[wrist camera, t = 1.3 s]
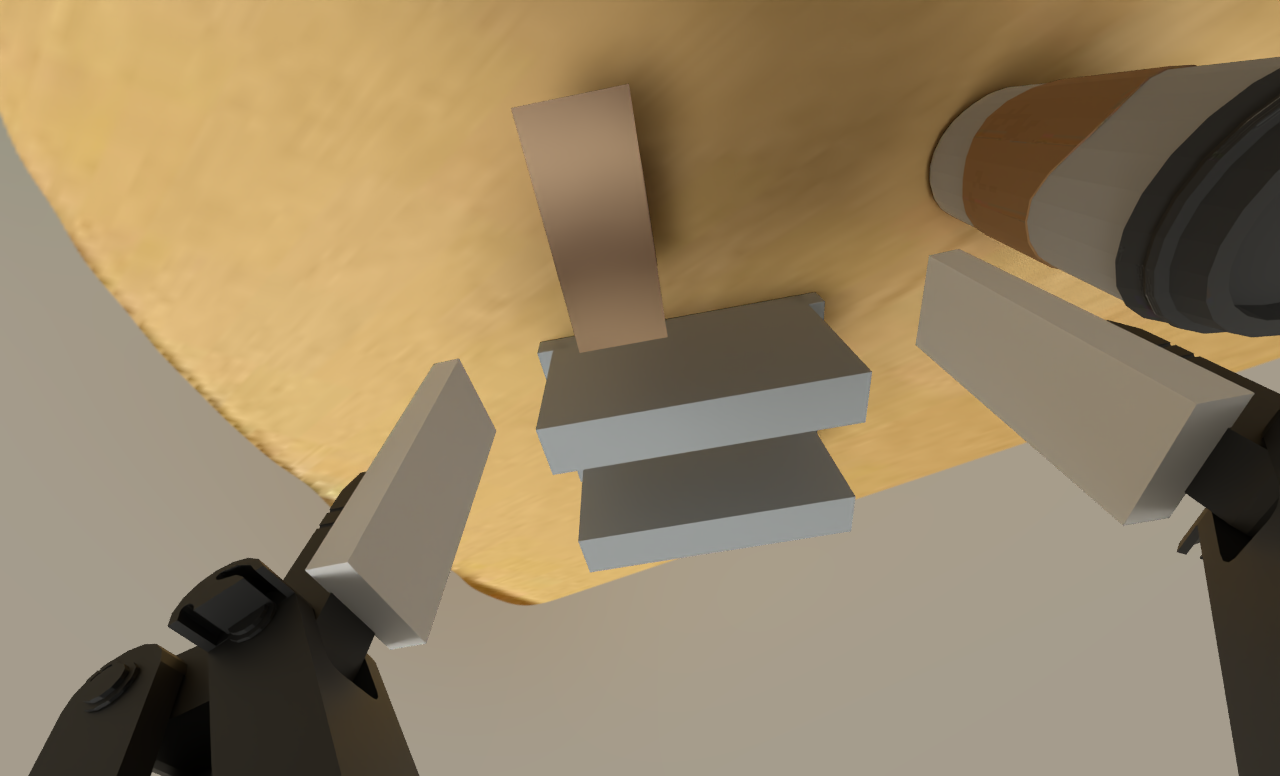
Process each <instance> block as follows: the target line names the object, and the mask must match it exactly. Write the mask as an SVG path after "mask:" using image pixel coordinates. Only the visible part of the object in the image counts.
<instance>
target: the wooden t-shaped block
mask: <svg viewBox="0 0 1280 776" xmlns="http://www.w3.org/2000/svg"><path fill="white" fill-rule="evenodd" d="M511 110H512V113H513V117H514V121H515V124H516V128H517V131H518V135H519V138H520V142H521V146H522V149H523V153H524V156H525V160H526V163H527V167H528V170H529V174H530V178H531V181H532V185H533V188H534V192H535V195H536V199H537V203H538V206H539V210H540V213H541V217H542V220H543V224H544V228H545V231H546V235H547V238H548V242H549V245H550V249H551V253H552V256H553V260H554V263H555V267H556V270H557V274H558V278H559V281H560V285H561V288H562V292H563V295H564V299H565V303H566V306H567V310H568V313H569V317H570V320H571V324H572V328H573V331H574V335H575V338H576V342H577V345H578V349H579V353H582V352H588V351H593V350H599V349H604V348H610V347H616V346H621V345H627V344H632V343H638V342H643V341H649V340H654V339H660V338H666V337H668V335H667V329H666V322H665V316H664V309H663V303H662V296H661V290H660V283H659V277H658V270H657V259H656V253H655V246H654V239H653V233H652V226H651V220H650V213H649V207H648V200H647V194H646V187H645V180H644V174H643V167H642V162H641V159H640V153H639V146H638V140H637V133H636V127H635V120H634V114H633V107H632V101H631V94H630V88H629V84H625V85H620V86H616V87H611V88H606V89H601V90H596V91H591V92H586V93H582V94H577V95H572V96H567V97H562V98H557V99H553V100H548V101H543V102H538V103H533V104H528V105H523V106H519V107H514V108H511Z"/></svg>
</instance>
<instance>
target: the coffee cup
mask: <svg viewBox="0 0 1280 776" xmlns="http://www.w3.org/2000/svg"><path fill="white" fill-rule="evenodd" d="M930 185H931V188H932V192H933V196H934V199H935V201H936V202H937V203H938V205H939V206H940V208H941V209H942V210H943V211H945V212H946V213H948V214H949V215H951V216H953V217H955V218H957V219H959V220H961V221H963V222H965V223H967V224H969V225H971V226H973V227H975V228H977V229H978V230H980V231H981V232H983V233H984V234H986V235H988V236H990V237H992V238H994V239H996V240H998V241H1000V242H1002V243H1003V244H1005V245H1007V246H1009V247H1011V248H1013V249H1015V250H1017V251H1019V252H1021V253H1023V254H1025V255H1027V256H1029V257H1031V258H1033V259H1035V260H1037V261H1039V262H1041V263H1043V264H1045V265H1047V266H1049V267H1051V268H1056V269H1060V270H1062V271H1064V272H1066V273H1068V274H1070V275H1072V276H1074V277H1076V278H1078V279H1080V280H1082V281H1084V282H1086V283H1089V284H1091V285H1093V286H1095V287H1097V288H1099V289H1101V290H1103V291H1105V292H1107V293H1109V294H1111V295H1113V296H1115V297H1117V298H1119V299H1121V300H1123V301H1124V303H1125V305H1126V306H1127V307H1129V308H1130V309H1131V310H1133V311H1134V312H1136V313H1137V314H1139V315H1140V316H1141V317H1143V318H1147V319H1151V320H1156V321H1161V322H1166V323H1169V324H1170V325H1171V326H1174V327H1177V328H1180V329H1185V330H1190V331H1195V332H1199V333H1204V334H1206V333H1219V332H1229V333H1234V334H1239V335H1243V336H1248V337H1262V336H1275V335H1280V57H1275V58H1266V59H1257V60H1248V61H1239V62H1230V63H1221V64H1212V65H1203V66H1196V65H1183V66H1168V67H1160V68H1151V69H1143V70H1135V71H1126V72H1118V73H1110V74H1101V75H1093V76H1084V77H1076V78H1068V79H1059V80H1056V81H1052V82H1049V83H1043V84H1034V85H1026V86H1017V87H1008V88H1004V89H1001V90H998V91H996V92H993V93H990V94H988V95H986V96H985V97H983V98H982V99H980V100H979V101H977V102H975V103H974V104H972V105H971V106H970V107H969V108H967V109H966V110H965V111H964V112H962V113H961V114H960V115H959V116H958V117H957V118H956V119H955V120H954V121H953V122H952V123H951V125H950V126H949V127H948V129H947V130H946V131H945V133H944V134H943V135H942V137H941V139H940V141H939V143H938V145H937V147H936V149H935V151H934V154H933V158H932V161H931V165H930Z"/></svg>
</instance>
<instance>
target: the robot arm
mask: <svg viewBox="0 0 1280 776" xmlns="http://www.w3.org/2000/svg"><path fill="white" fill-rule="evenodd" d="M916 346H918V347H919V348H920V349H921V350H922V351H923V352H924V353H926V354H927V355H928V356H929V357H930V358H931V359H932V360H934V361H935V362H936V363H937V364H938V365H939V366H940V367H942V368H943V369H944V370H945V371H946V372H947V373H948V374H950V375H951V376H952V377H953V378H954V379H955V380H957V381H958V382H959V383H960V384H961V385H962V386H963V387H965V388H966V389H967V390H968V391H969V392H970V393H971V394H973V395H974V396H975V397H976V398H977V399H978V400H979V401H981V402H982V403H983V404H984V405H985V406H986V407H987V408H989V409H990V410H991V411H992V412H993V413H994V414H996V415H997V416H998V417H999V418H1000V419H1001V420H1002V421H1004V422H1005V423H1006V424H1007V425H1008V426H1009V427H1010V428H1012V429H1013V430H1014V431H1015V432H1016V433H1017V434H1018V435H1020V436H1021V437H1022V438H1023V439H1024V440H1025V441H1026V442H1028V443H1029V444H1030V445H1031V446H1032V447H1033V448H1035V449H1036V450H1037V451H1038V452H1039V453H1040V454H1041V455H1043V456H1044V457H1045V458H1046V459H1047V460H1048V461H1049V462H1051V463H1052V464H1053V465H1054V466H1055V467H1056V468H1057V469H1059V470H1060V471H1061V472H1062V473H1063V474H1064V475H1065V476H1067V477H1068V478H1069V479H1070V480H1071V481H1072V482H1073V483H1075V484H1076V485H1077V486H1078V487H1079V488H1080V489H1082V490H1083V491H1084V492H1085V493H1086V494H1087V495H1088V496H1090V497H1091V498H1092V499H1093V500H1094V501H1095V502H1097V503H1098V504H1099V505H1100V506H1101V507H1102V508H1103V509H1104V510H1106V511H1107V512H1108V513H1109V514H1110V515H1111V516H1112V517H1114V518H1115V519H1116V520H1117V521H1118V522H1119V523H1121V524H1122V525H1123V526H1124V525H1130V524H1136V523H1142V522H1147V521H1154V520H1159V519H1165V518H1169V517H1170V516H1171V514H1172V513H1173V511H1174V510H1175V508H1176V507H1177V506H1178V504H1179V503H1180V501H1181V500H1182V498H1183V497H1184V495H1185V494H1188V495H1189V496H1190V497H1192V498H1193V499H1195V500H1196V501H1197V502H1199V503H1200V504H1202V505H1203V506H1204V507H1206V508H1205V509H1204V510H1203V512H1202V513H1201V515H1200V516H1199V517H1198V519H1197V520H1196V521H1195V523H1194V524H1193V525H1192V527H1191V528H1190V529H1189V531H1188V532H1187V533H1186V535H1185V536H1184V537H1183V539H1182V540H1181V541H1180V543H1179V546H1178V549H1177V552H1179V553H1183V554H1187V553H1188V551H1189V550H1190V549H1191V548H1192V546H1193V545H1194V544H1197V543H1200V544H1201V550H1202V555H1201V556H1200V559H1203V562H1204V568H1205V573H1206V580H1207V586H1208V592H1209V598H1210V604H1211V610H1212V616H1213V622H1214V628H1215V634H1216V640H1217V646H1218V652H1219V659H1220V665H1221V670H1222V676H1223V682H1224V688H1225V695H1226V701H1227V706H1228V713H1229V718H1230V725H1231V730H1232V737H1233V743H1234V749H1235V755H1236V761H1237V766H1238V773H1239V776H1280V394H1279V393H1277V392H1275V391H1272V390H1270V389H1268V388H1266V387H1264V386H1262V385H1260V384H1258V383H1255V382H1253V381H1251V380H1249V379H1247V378H1244V377H1242V376H1241V375H1238V374H1236V373H1234V372H1232V371H1230V370H1228V369H1226V368H1224V367H1221V366H1219V365H1217V364H1215V363H1213V362H1211V361H1209V360H1207V359H1204V358H1202V357H1200V356H1199V357H1194V353H1192V352H1190V351H1187V350H1185V349H1183V348H1181V347H1179V346H1177V345H1174V346H1171V345H1170V342H1168V341H1166V340H1164V339H1162V338H1160V337H1158V336H1155V335H1153V334H1151V333H1149V332H1147V331H1145V330H1143V329H1139V328H1136V327H1132V326H1128V325H1124V324H1121V323H1117V322H1113V321H1109V320H1104V319H1102V318H1100V317H1098V316H1096V315H1094V314H1092V313H1089V312H1087V311H1085V310H1083V309H1081V308H1079V307H1077V306H1075V305H1073V304H1071V303H1069V302H1067V301H1065V300H1063V299H1061V298H1059V297H1057V296H1055V295H1053V294H1050V293H1048V292H1046V291H1044V290H1042V289H1040V288H1038V287H1036V286H1034V285H1032V284H1030V283H1028V282H1026V281H1024V280H1022V279H1020V278H1018V277H1016V276H1014V275H1011V274H1009V273H1007V272H1005V271H1003V270H1001V269H999V268H997V267H995V266H993V265H991V264H989V263H987V262H985V261H983V260H981V259H979V258H977V257H974V256H972V255H970V254H968V253H966V252H964V251H962V250H960V249H957V250H952V251H947V252H943V253H938V254H934V255H929V260H928V266H927V273H926V279H925V286H924V293H923V299H922V306H921V313H920V319H919V326H918V332H917V339H916ZM495 433H496V429H495V427H494V425H493V423H492V421H491V419H490V418H489V416H488V414H487V412H486V410H485V408H484V406H483V404H482V402H481V400H480V398H479V396H478V394H477V392H476V390H475V388H474V387H473V385H472V383H471V381H470V379H469V377H468V375H467V373H466V371H465V369H464V367H463V365H462V363H461V361H460V359H454V360H450V361H445V362H441V363H436V364H434V365H433V366H432V368H431V369H430V371H429V373H428V374H427V376H426V377H425V379H424V381H423V382H422V384H421V385H420V387H419V389H418V390H417V392H416V393H415V395H414V397H413V398H412V400H411V401H410V403H409V404H408V406H407V408H406V409H405V411H404V412H403V414H402V416H401V417H400V419H399V420H398V422H397V424H396V425H395V427H394V428H393V430H392V432H391V433H390V435H389V436H388V438H387V440H386V441H385V443H384V444H383V446H382V448H381V449H380V451H379V452H378V454H377V456H376V457H375V459H374V460H373V462H372V464H371V465H370V467H369V468H368V470H367V472H362V473H360V474H359V475H358V476H357V477H356V478H355V479H354V480H353V481H351V482H350V483H349V484H348V485H347V486H346V487H345V488H344V489H343V490H342V491H341V493H340V494H339V496H338V497H337V499H336V500H335V502H334V503H333V505H332V506H331V508H330V513H327V514H326V516H325V517H324V519H323V520H322V522H321V523H320V529H316V531H315V533H314V534H313V535H312V537H311V538H310V540H309V542H308V543H307V545H306V546H305V548H304V549H303V551H302V552H301V554H300V555H299V557H298V558H297V560H296V561H295V563H294V564H293V566H292V567H291V569H290V570H289V572H288V574H287V575H286V577H285V578H284V580H282V579H281V578H280V577H278V575H276V574H275V573H274V572H273V571H272V570H271V569H269V568H268V567H267V566H266V565H265V564H264V563H263V562H261V561H260V560H259V559H253V558H247V559H243V560H239V561H236V562H233V563H231V564H229V565H227V566H225V567H223V568H221V569H219V570H217V571H215V572H214V573H213V574H211V575H210V576H208V577H207V578H206V579H204V580H203V581H202V582H200V583H199V584H198V585H197V586H196V587H194V588H193V589H192V590H191V591H190V592H189V593H188V594H187V595H186V596H185V597H184V598H183V599H182V601H181V602H180V603H179V605H178V606H177V607H176V609H175V610H174V612H173V613H172V615H171V618H170V621H169V624H168V627H169V628H171V629H172V630H174V631H175V632H177V633H178V634H180V635H182V636H183V637H185V638H186V639H188V640H189V641H191V642H192V643H194V644H196V645H197V646H196V647H194V648H192V649H189V650H188V651H185V652H183V653H181V654H179V655H174V654H172V653H171V652H169V651H167V650H166V649H164V648H162V647H161V646H159V645H157V644H144V645H142V646H139V647H137V648H134V649H132V650H129V651H127V652H126V653H124V654H122V655H121V656H119V657H117V658H116V659H114V660H112V661H110V662H109V663H107V664H106V665H105V666H103V667H102V668H101V670H100V671H97V672H96V673H95V674H93V675H92V676H91V677H90V678H89V679H88V680H87V681H86V683H85V684H84V685H83V686H82V687H81V688H80V689H79V690H78V691H77V692H76V693H75V694H74V695H73V697H72V698H71V699H70V701H69V702H68V704H67V705H66V707H65V708H64V710H63V711H62V713H61V714H60V717H59V718H58V720H57V722H56V724H55V726H54V728H53V730H52V732H51V734H50V736H49V738H48V739H47V741H46V743H45V745H44V747H43V749H42V751H41V753H40V755H39V756H38V759H37V760H36V762H35V764H34V766H33V768H32V770H31V772H30V774H29V776H151V773H152V772H154V773H157V774H159V775H161V776H419V774H418V771H417V769H416V766H415V763H414V761H413V758H412V756H411V753H410V751H409V748H408V746H407V743H406V740H405V738H404V735H403V732H402V730H401V727H400V725H399V722H398V720H397V717H396V714H395V712H394V709H393V707H392V704H391V701H390V699H389V696H388V694H387V691H386V688H385V686H384V683H383V681H382V678H381V676H380V673H379V670H378V668H377V665H376V663H375V661H374V660H373V659H372V658H371V657H370V656H369V655H368V654H367V651H368V649H369V647H370V644H371V642H372V640H373V637H374V635H375V636H376V637H377V638H378V639H379V640H381V641H382V642H383V643H384V644H385V645H386V646H387V647H388V648H389V649H390V650H391V649H397V648H403V647H409V646H415V645H421V644H426V643H427V640H428V636H429V634H430V631H431V627H432V625H433V622H434V619H435V615H436V613H437V609H438V607H439V603H440V600H441V597H442V594H443V591H444V588H445V585H446V582H447V579H448V576H449V573H450V570H451V567H452V564H453V561H454V558H455V555H456V552H457V549H458V546H459V543H460V540H461V537H462V534H463V531H464V527H465V524H466V521H467V518H468V515H469V512H470V509H471V506H472V503H473V500H474V497H475V494H476V491H477V488H478V485H479V482H480V479H481V476H482V473H483V470H484V467H485V464H486V461H487V458H488V454H489V451H490V448H491V445H492V442H493V439H494V436H495Z"/></svg>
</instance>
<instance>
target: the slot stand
mask: <svg viewBox="0 0 1280 776" xmlns="http://www.w3.org/2000/svg"><path fill="white" fill-rule="evenodd" d="M824 307H825V301H824V300H823V299H822V298H821V297H820V296H819V295H818V294H817V293H816V292H814V293H808V294H803V295H798V296H792V297H787V298H781V299H776V300H770V301H765V302H759V303H754V304H748V305H743V306H737V307H732V308H726V309H721V310H715V311H710V312H704V313H699V314H693V315H688V316H682V317H677V318H671V319H666V320H665V322H666V329H667V335H668V337H666V338H660V339H654V340H649V341H643V342H638V343H632V344H627V345H621V346H616V347H610V348H604V349H599V350H593V351H588V352H582V353H579V349H578V345H577V342H576V338H575V336H572V337H567V338H561V339H556V340H550V341H545V342H540V346H539V349H538V353H537V354H538V356H539V359H540V362H541V365H542V368H543V371H544V374H545V377H546V385H545V390H544V394H543V399H542V404H541V408H540V413H539V418H538V422H537V427H536V432H537V434H538V437H539V440H540V442H541V445H542V447H543V450H544V453H545V455H546V458H547V461H548V463H549V466H550V468H551V471H552V474H553V475H555V474H561V473H567V472H573V471H578V474H579V477H580V480H581V482H582V496H581V510H580V525H579V540H578V542H579V544H580V547H581V549H582V552H583V555H584V557H585V560H586V562H587V565H588V568H589V570H590V572H595V571H601V570H608V569H614V568H620V567H627V566H633V565H639V564H646V563H652V562H658V561H665V560H671V559H677V558H684V557H690V556H696V555H703V554H709V553H715V552H721V551H728V550H734V549H740V548H746V547H753V546H760V545H766V544H772V543H779V542H785V541H791V540H798V539H804V538H810V537H817V536H823V535H829V534H835V533H842V532H848V531H851V527H852V519H853V512H854V504H855V495H854V493H853V492H852V490H851V489H850V487H849V485H848V484H847V482H846V480H845V479H844V477H843V475H842V474H841V472H840V470H839V469H838V467H837V466H836V464H835V462H834V461H833V459H832V457H831V456H830V454H829V452H828V451H827V449H826V448H825V446H824V444H823V443H822V441H821V439H820V438H819V436H818V434H817V430H822V429H828V428H834V427H840V426H846V425H852V424H858V423H864V422H865V421H866V413H867V406H868V398H869V391H870V383H871V375H872V371H871V370H870V369H869V368H868V367H867V366H866V365H865V364H864V363H863V362H862V361H861V360H860V359H859V357H858V356H857V355H856V354H855V353H854V352H853V351H852V350H851V349H850V348H849V347H848V346H847V345H846V344H845V343H844V342H843V340H842V339H841V338H840V337H839V336H838V335H837V334H836V333H835V332H834V331H833V330H832V329H831V328H830V327H829V326H828V325H827V323H826V322H825V321H824Z"/></svg>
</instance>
